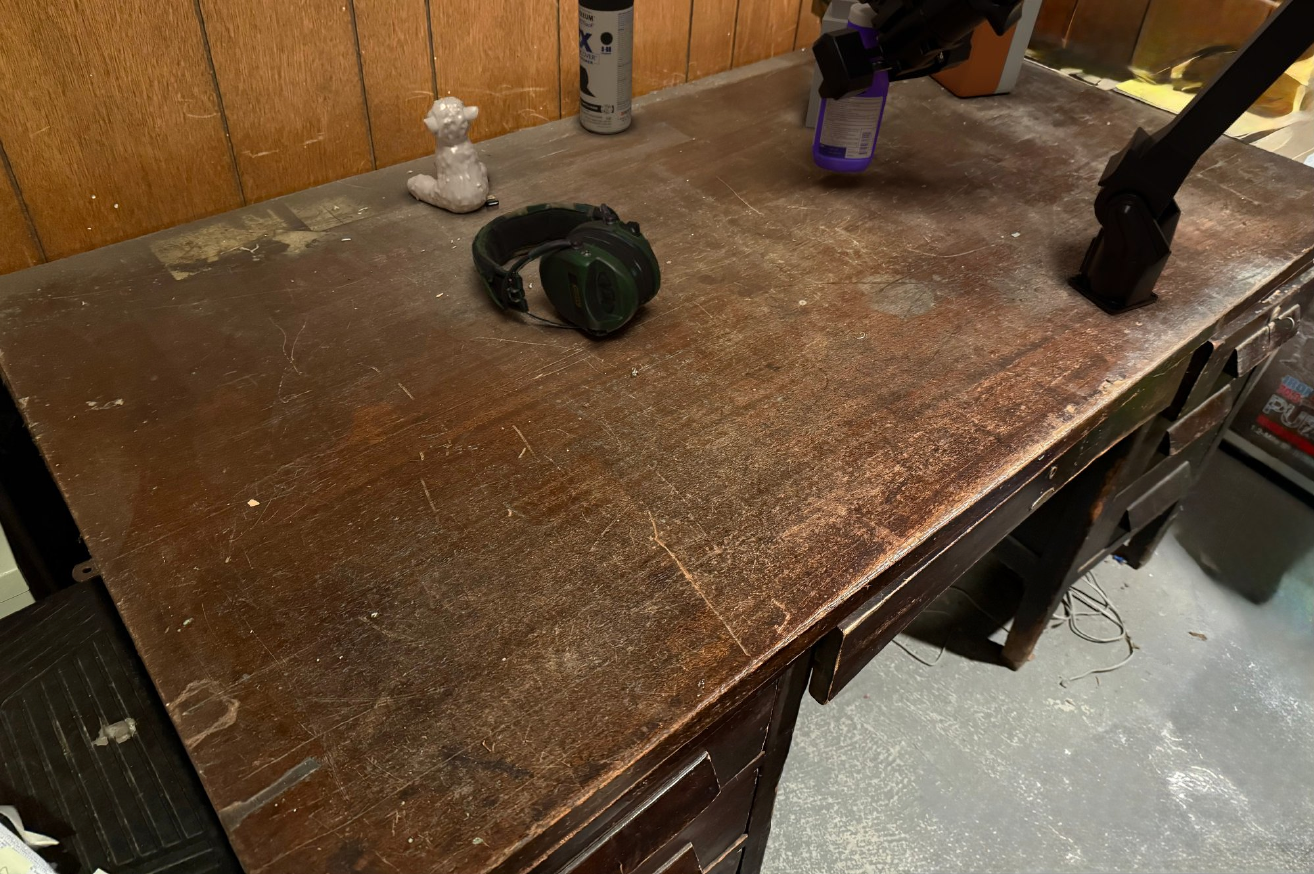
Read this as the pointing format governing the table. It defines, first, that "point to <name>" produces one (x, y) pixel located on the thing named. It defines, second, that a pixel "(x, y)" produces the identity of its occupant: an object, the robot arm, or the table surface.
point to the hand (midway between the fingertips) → (845, 87)
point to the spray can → (605, 64)
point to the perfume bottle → (831, 21)
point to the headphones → (570, 263)
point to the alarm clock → (992, 57)
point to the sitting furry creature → (452, 160)
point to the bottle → (852, 113)
